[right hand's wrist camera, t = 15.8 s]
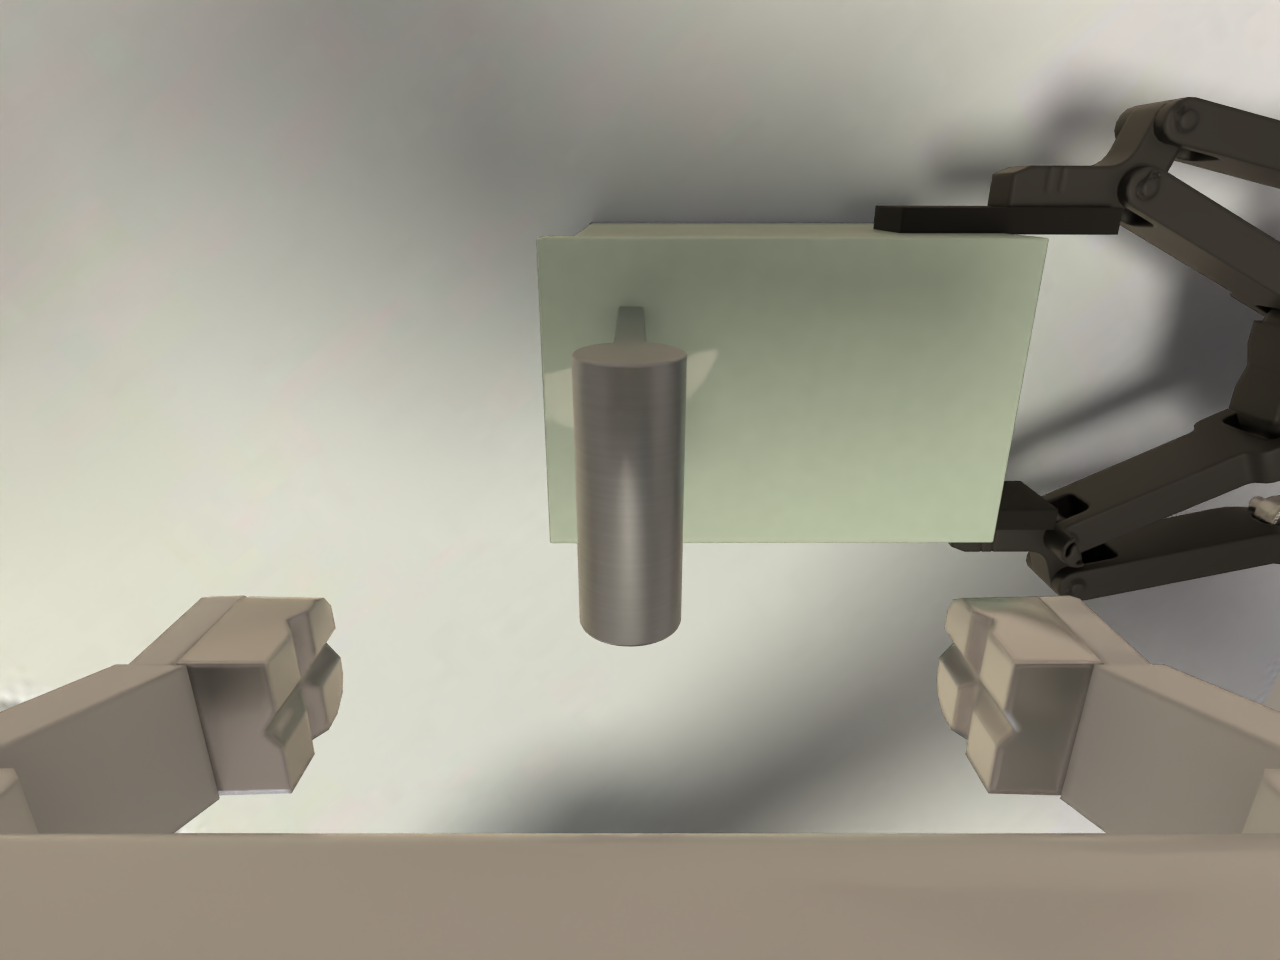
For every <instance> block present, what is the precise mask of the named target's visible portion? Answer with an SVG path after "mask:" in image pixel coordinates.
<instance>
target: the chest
mask: <svg viewBox="0 0 1280 960" xmlns="http://www.w3.org/2000/svg"><path fill="white" fill-rule="evenodd" d="M873 227H874V223H590V225H589V226H588V227H586V228H585V229H583V230H582V231H581V232H579V233H578V234H577V235H575V236H1023V235H1014V234H1005V233H895V232H889V231H882V230H876V229H873Z"/></svg>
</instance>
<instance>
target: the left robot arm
mask: <svg viewBox="0 0 1280 960" xmlns="http://www.w3.org/2000/svg"><path fill="white" fill-rule="evenodd" d="M1114 131H1115V138H1116V140H1115V142H1114V144H1113V146H1112V148H1111V149H1110V151H1109V152H1108V154H1107V155H1106V156H1105V157H1104V158H1103V159H1102V160H1101V161H1100V162H1098V163H1097V164H1095V165H1092V166H1019V167H1009V168H1006V169H1004V170H1001V171H999V172H996V173H994V174H992V181H991V187H990V194H989V200H988V206H876V208H875V218H874V227H873V229H876V230H882V231H889V232H895V233H1005V234H1088V235H1118V231H1119V226H1120V225H1121V226H1123V227H1124V228H1126V229H1128V230H1129V231H1131V232H1133V233H1134V234H1136V235H1138V236H1139V237H1141V238H1143V239H1144V240H1146V241H1148V242H1149V243H1151V244H1153V245H1154V246H1156V247H1158V248H1159V249H1161V250H1163V251H1164V252H1166V253H1168V254H1169V255H1171V256H1173V257H1174V258H1176V259H1178V260H1179V261H1181V262H1183V263H1184V264H1186V265H1188V266H1189V267H1191V268H1193V269H1194V270H1196V271H1198V272H1199V273H1201V274H1203V275H1204V276H1206V277H1208V278H1209V279H1211V280H1213V281H1214V282H1216V283H1218V284H1219V285H1221V286H1223V287H1224V288H1226V289H1228V290H1229V291H1231V292H1232V293H1231V294H1230V295H1231V296H1232V297H1233V298H1235V299H1237V300H1238V301H1240V302H1242V303H1243V304H1245V305H1247V306H1248V307H1250V308H1252V309H1253V310H1255V311H1257V312H1258V313H1260V314H1262V315H1263V316H1265V318H1264V319H1263V321H1254V323H1253V326H1252V330H1251V333H1250V337H1249V340H1248V357H1247V367H1246V369H1245V370H1244V372H1243V374H1242V376H1241V378H1240V379H1239V381H1238V383H1237V385H1236V386H1235V389H1234V392H1233V396H1232V399H1231V403H1230V406H1229V408H1228V409H1226V410H1224V411H1221V412H1219V413H1217V414H1214V415H1212V416H1210V417H1207V418H1205V419H1203V420H1201V421H1199V422H1197V423H1196V424H1195V425H1194V431H1193V432H1191V433H1189V434H1187V435H1184V436H1182V437H1180V438H1177V439H1175V440H1173V441H1170V442H1168V443H1166V444H1163V445H1161V446H1159V447H1156V448H1154V449H1151V450H1149V451H1147V452H1144V453H1142V454H1140V455H1137V456H1135V457H1133V458H1130V459H1128V460H1126V461H1123V462H1121V463H1119V464H1116V465H1114V466H1112V467H1109V468H1107V469H1105V470H1102V471H1100V472H1098V473H1095V474H1093V475H1091V476H1088V477H1086V478H1084V479H1081V480H1079V481H1077V482H1074V483H1072V484H1070V485H1067V486H1065V487H1063V488H1060V489H1058V490H1056V491H1053V492H1051V493H1049V494H1046V495H1044V496H1042V497H1041V496H1040V495H1038V494H1037V493H1036V492H1034V491H1033V490H1032V489H1030V488H1029V487H1028V486H1026V485H1025V484H1024V483H1022V482H1021V481H1004V485H1003V490H1002V495H1001V501H1000V506H999V512H998V517H997V522H996V528H995V533H994V539H993V542H948V543H949V544H950V545H951V546H952V547H954V548H957V549H959V550H962V551H965V552H980V551H982V552H991V551H1029V553H1028V554H1027V558H1026V562H1027V565H1028V566H1029V567H1030V568H1031V569H1032V570H1033V571H1034V572H1035V573H1036V574H1037V575H1038V576H1039V577H1040V578H1041V579H1042V580H1043V581H1044V582H1045V583H1046V584H1047V585H1048V586H1049V587H1050V588H1052V589H1053V590H1054V591H1055V592H1056V593H1057V594H1058V595H1059V596H1072V597H1075V598H1079V599H1080V600H1082V601H1083V600H1088V599H1094V598H1099V597H1104V596H1109V595H1114V594H1119V593H1124V592H1129V591H1135V590H1140V589H1145V588H1150V587H1155V586H1160V585H1165V584H1170V583H1176V582H1181V581H1186V580H1191V579H1196V578H1201V577H1206V576H1211V575H1217V574H1222V573H1227V572H1232V571H1237V570H1242V569H1247V568H1252V567H1258V566H1263V565H1268V564H1273V563H1275V564H1280V495H1278V496H1271V497H1268V498H1264V497H1261V496H1257V497H1254V498H1253V499H1251V501H1250V502H1249V506H1248V507H1223V508H1216V509H1210V510H1205V511H1200V512H1195V513H1190V514H1185V515H1180V516H1175V517H1170V518H1166V517H1169V516H1171V515H1174V514H1176V513H1178V512H1181V511H1183V510H1186V509H1188V508H1191V507H1193V506H1195V505H1198V504H1200V503H1203V502H1205V501H1207V500H1210V499H1212V498H1215V497H1217V496H1220V495H1222V494H1224V493H1227V492H1229V491H1232V490H1234V489H1237V488H1239V487H1241V486H1244V485H1246V484H1250V483H1274V482H1277V481H1280V242H1279V241H1277V240H1275V239H1274V238H1272V237H1271V236H1269V235H1267V234H1266V233H1264V232H1263V231H1261V230H1259V229H1258V228H1256V227H1255V226H1253V225H1251V224H1250V223H1248V222H1247V221H1245V220H1243V219H1242V218H1240V217H1239V216H1237V215H1235V214H1234V213H1232V212H1231V211H1229V210H1227V209H1226V208H1224V207H1223V206H1221V205H1219V204H1218V203H1216V202H1214V201H1213V200H1211V199H1210V198H1208V197H1206V196H1205V195H1203V194H1202V193H1200V192H1198V191H1197V190H1195V189H1194V188H1192V187H1190V186H1189V185H1187V184H1186V183H1184V182H1182V181H1181V180H1179V179H1178V178H1176V177H1174V176H1173V175H1171V174H1170V173H1168V170H1169V169H1170V167H1171V165H1172V163H1173V162H1174V161H1178V162H1182V163H1186V164H1189V165H1193V166H1197V167H1201V168H1204V169H1208V170H1212V171H1216V172H1219V173H1223V174H1227V175H1230V176H1234V177H1238V178H1242V179H1245V180H1249V181H1253V182H1257V183H1260V184H1264V185H1268V186H1272V187H1275V188H1279V189H1280V121H1279V120H1276V119H1272V118H1268V117H1265V116H1261V115H1258V114H1254V113H1250V112H1247V111H1243V110H1239V109H1236V108H1232V107H1229V106H1225V105H1221V104H1218V103H1214V102H1211V101H1207V100H1203V99H1200V98H1196V97H1186V98H1180V99H1174V100H1169V101H1163V102H1157V103H1151V104H1145V105H1139V106H1134V107H1132V108H1129V109H1127V110H1126V111H1125V112H1124V113H1122V114H1121V116H1120V117H1119V119H1118V120H1117V122H1116V126H1115V130H1114ZM1164 518H1165V519H1164Z"/></svg>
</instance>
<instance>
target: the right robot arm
mask: <svg viewBox="0 0 1280 960" xmlns="http://www.w3.org/2000/svg"><path fill="white" fill-rule="evenodd" d="M334 630H335V623H334V618H333V613H332V608H331V605H330V604H329V603H328V602H327V601H326V600H325V599H324V598H301V597H246V596H215V597H205V598H201V599H200V600H199V601H198V602H197V603H195V604H194V605H193V606H192V607H191V608H190V609H189V610H188V611H187V612H186V613H184V614H183V615H182V616H181V617H180V618H179V619H178V620H177V621H176V622H175V623H174V624H172V625H171V626H170V627H169V628H168V629H167V630H166V631H165V632H164V633H163V634H161V635H160V636H159V637H158V638H157V639H156V640H155V641H154V642H153V643H152V644H151V645H149V646H148V647H147V648H146V649H145V650H144V651H143V652H142V653H141V654H140V655H138V656H137V657H136V658H135V659H134V660H133V661H132V662H131V663H130V664H129V665H113V666H111V667H109V668H106V669H104V670H101V671H99V672H96V673H94V674H92V675H89V676H87V677H84V678H82V679H79V680H77V681H74V682H72V683H70V684H67V685H65V686H62V687H60V688H57V689H55V690H53V691H50V692H48V693H45V694H43V695H40V696H38V697H35V698H33V699H31V700H28V701H26V702H23V703H21V704H18V705H16V706H14V707H11V708H9V709H6V710H4V711H1V712H0V960H1280V712H1278V711H1276V710H1273V709H1271V708H1269V707H1266V706H1264V705H1261V704H1259V703H1256V702H1254V701H1252V700H1249V699H1247V698H1244V697H1242V696H1239V695H1237V694H1235V693H1232V692H1230V691H1227V690H1225V689H1222V688H1220V687H1218V686H1215V685H1213V684H1210V683H1208V682H1205V681H1203V680H1201V679H1198V678H1196V677H1193V676H1191V675H1188V674H1186V673H1184V672H1181V671H1179V670H1176V669H1174V668H1171V667H1169V666H1167V665H1151V664H1150V663H1149V662H1148V661H1147V660H1146V659H1145V658H1144V657H1143V656H1142V655H1141V654H1139V653H1138V652H1137V651H1136V650H1135V649H1134V648H1133V647H1132V646H1131V645H1130V644H1129V643H1127V642H1126V641H1125V640H1124V639H1123V638H1122V637H1121V636H1120V635H1119V634H1118V633H1116V632H1115V631H1114V630H1113V629H1112V628H1111V627H1110V626H1109V625H1108V624H1107V623H1106V622H1104V621H1103V620H1102V619H1101V618H1100V617H1099V616H1098V615H1097V614H1096V613H1095V612H1094V611H1092V610H1091V609H1090V608H1089V607H1088V606H1087V605H1086V604H1085V603H1084V602H1083V601H1082V600H1080V599H1079V598H1075V597H1072V596H1047V597H997V598H961V599H954V600H953V601H952V603H951V605H950V607H949V609H948V611H947V617H946V622H945V630H946V631H947V633H948V634H949V636H950V637H951V639H952V641H953V642H954V643H953V644H952V645H951V646H950V647H949V648H948V649H947V650H946V651H945V652H944V653H943V654H942V655H941V657H940V658H939V666H938V674H937V688H938V698H939V703H940V706H941V709H942V712H943V716H944V717H945V719H946V721H947V723H948V725H949V726H950V728H951V730H953V731H954V732H956V733H958V734H959V735H961V736H962V737H964V738H965V739H967V740H968V742H967V748H966V753H965V754H966V756H967V758H968V759H969V761H970V763H971V764H972V766H973V768H974V770H975V771H976V773H977V775H978V776H979V778H980V780H981V781H982V783H983V785H984V787H985V788H986V790H987V792H988V793H996V794H1032V795H1061V797H1060V799H1062V800H1063V801H1064V802H1066V803H1067V804H1068V805H1070V806H1071V807H1072V808H1074V809H1075V810H1076V811H1078V812H1079V813H1080V814H1082V815H1083V816H1084V817H1086V818H1087V819H1088V820H1090V821H1091V822H1092V823H1094V824H1095V825H1096V826H1098V827H1099V828H1100V829H1102V830H1103V831H1104V832H1106V833H175V832H176V831H177V830H179V829H180V828H181V827H183V826H184V825H185V824H187V823H188V822H189V821H191V820H192V819H193V818H195V817H196V816H197V815H199V814H200V813H201V812H203V811H204V810H205V809H207V808H208V807H209V806H211V805H212V804H213V803H215V802H216V801H217V800H219V795H247V794H282V793H292V792H293V790H294V788H295V787H296V785H297V783H298V782H299V780H300V778H301V776H302V775H303V773H304V771H305V770H306V768H307V766H308V765H309V763H310V761H311V759H312V758H313V756H314V754H315V753H314V748H313V742H312V740H313V739H315V738H316V737H318V736H319V735H321V734H322V733H324V732H326V731H327V730H329V728H330V726H331V725H332V723H333V721H334V719H335V717H336V715H337V713H338V709H339V705H340V701H341V697H342V693H343V671H342V665H341V658H340V657H339V655H338V654H337V653H336V652H335V651H334V650H333V649H332V648H331V647H330V646H329V645H328V644H327V643H326V642H327V641H328V639H329V637H330V636H331V634H332V633H333V631H334Z"/></svg>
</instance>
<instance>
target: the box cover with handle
mask: <svg viewBox="0 0 1280 960" xmlns="http://www.w3.org/2000/svg"><path fill="white" fill-rule="evenodd" d="M1048 241H1049V240H1048V239H1047V238H1041V237H1032V236H541V237H539V238H537V240H536V245H537V267H538V289H539V311H540V332H541V354H542V376H543V398H544V420H545V441H546V463H547V485H548V507H549V529H550V542H551V543H577V545H578V576H579V608H580V623H581V625H582V627H583V629H584V630H585V631H586V633H588V634H589V635H590V636H591V637H593V638H595V639H597V640H599V641H601V642H604V643H608V644H612V645H617V646H642V645H648V644H652V643H656V642H659V641H661V640H663V639H665V638H667V637H669V636H670V635H672V634H673V633H674V632H675V631H676V630H677V628H678V626H679V624H680V622H681V595H682V552H683V543H889V542H993V539H994V533H995V528H996V522H997V517H998V512H999V506H1000V501H1001V495H1002V490H1003V485H1004V479H1005V474H1006V468H1007V463H1008V457H1009V452H1010V447H1011V441H1012V436H1013V430H1014V425H1015V419H1016V414H1017V409H1018V403H1019V398H1020V392H1021V387H1022V382H1023V376H1024V371H1025V365H1026V360H1027V354H1028V349H1029V344H1030V338H1031V333H1032V327H1033V322H1034V317H1035V311H1036V306H1037V300H1038V295H1039V289H1040V284H1041V279H1042V273H1043V268H1044V262H1045V257H1046V251H1047V246H1048Z"/></svg>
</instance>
